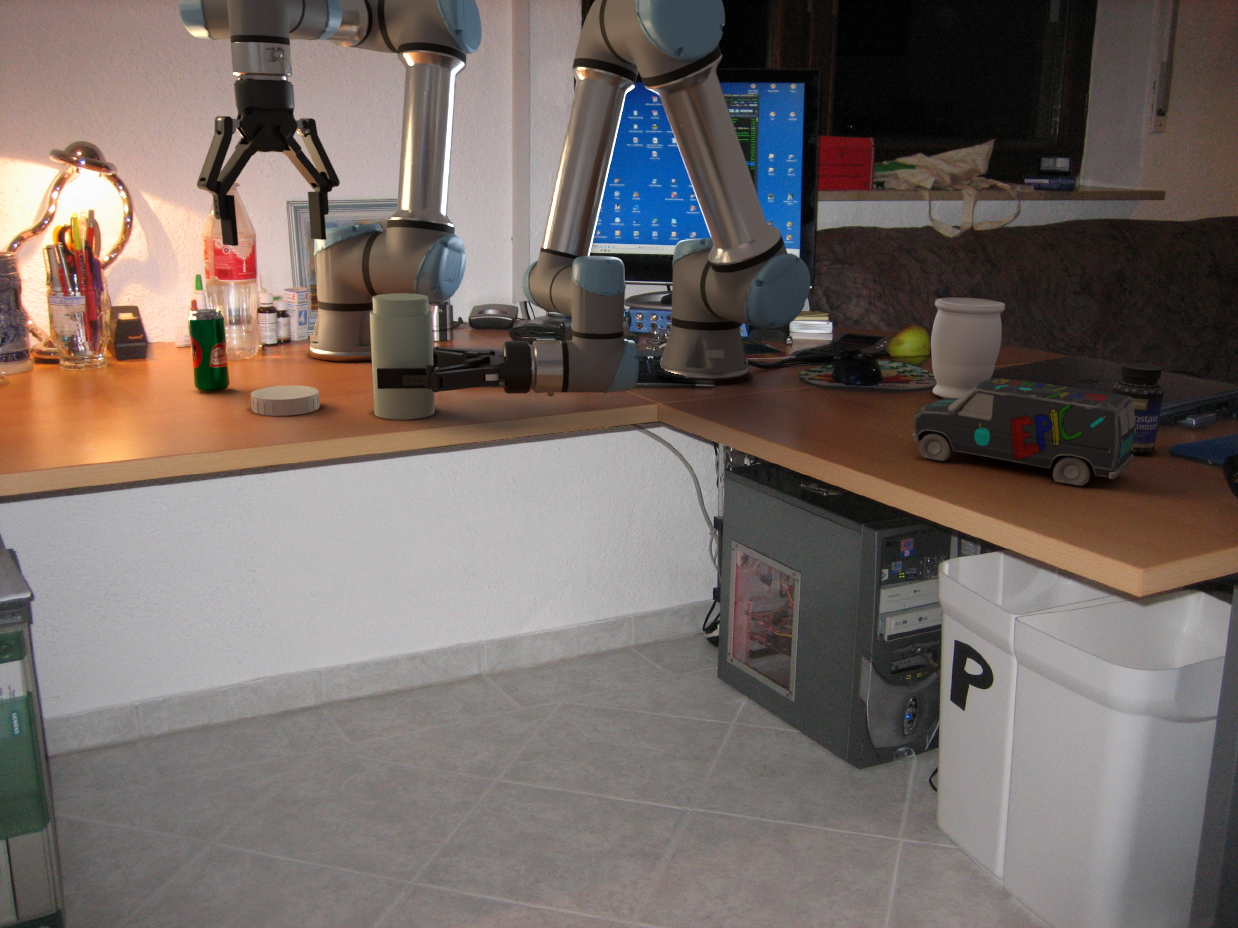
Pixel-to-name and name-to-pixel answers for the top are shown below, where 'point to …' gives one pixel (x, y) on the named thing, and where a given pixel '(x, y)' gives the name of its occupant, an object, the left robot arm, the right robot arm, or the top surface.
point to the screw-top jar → (401, 352)
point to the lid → (285, 400)
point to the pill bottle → (1142, 401)
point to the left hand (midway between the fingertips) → (276, 242)
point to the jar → (964, 343)
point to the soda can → (209, 350)
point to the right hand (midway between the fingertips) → (380, 368)
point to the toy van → (1033, 428)
